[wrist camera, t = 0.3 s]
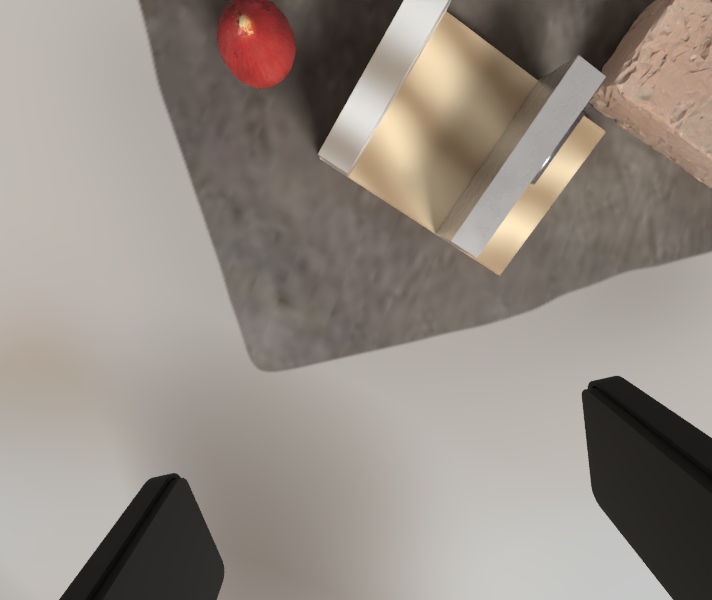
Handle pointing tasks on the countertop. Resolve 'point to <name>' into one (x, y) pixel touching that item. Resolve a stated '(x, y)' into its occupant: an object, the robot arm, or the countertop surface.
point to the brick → (665, 83)
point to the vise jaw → (521, 154)
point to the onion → (256, 42)
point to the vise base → (443, 125)
